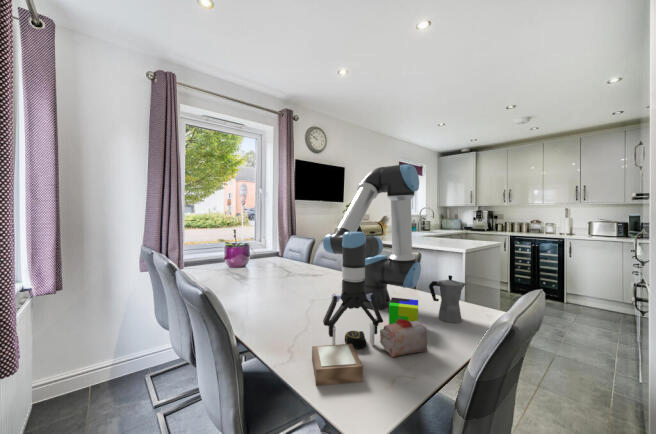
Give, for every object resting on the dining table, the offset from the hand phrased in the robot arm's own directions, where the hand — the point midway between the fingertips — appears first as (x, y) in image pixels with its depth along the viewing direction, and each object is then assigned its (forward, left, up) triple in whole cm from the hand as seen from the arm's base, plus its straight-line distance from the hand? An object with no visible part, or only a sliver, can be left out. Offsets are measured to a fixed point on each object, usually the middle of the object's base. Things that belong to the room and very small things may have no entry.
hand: (352, 345), depth 88 cm
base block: (+8, +13, 0) cm, 15 cm away
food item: (-15, +5, -1) cm, 16 cm away
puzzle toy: (-22, -10, -1) cm, 24 cm away
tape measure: (-2, 0, -1) cm, 2 cm away
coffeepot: (-44, -17, 0) cm, 47 cm away
